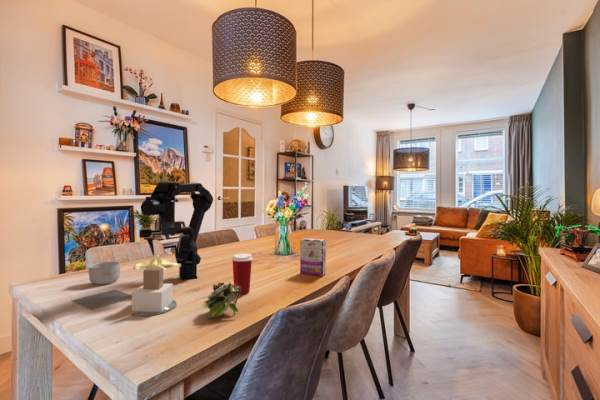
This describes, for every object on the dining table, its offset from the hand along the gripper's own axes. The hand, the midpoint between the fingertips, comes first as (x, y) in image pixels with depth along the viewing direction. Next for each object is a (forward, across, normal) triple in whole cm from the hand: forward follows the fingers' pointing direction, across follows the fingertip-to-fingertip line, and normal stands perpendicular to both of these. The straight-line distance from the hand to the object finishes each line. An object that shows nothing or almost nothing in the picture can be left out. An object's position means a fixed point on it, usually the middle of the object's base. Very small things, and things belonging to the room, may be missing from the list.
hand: (166, 254), depth 117 cm
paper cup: (+13, +24, -19) cm, 33 cm away
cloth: (+14, 0, +36) cm, 38 cm away
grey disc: (+13, -6, -20) cm, 25 cm away
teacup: (+13, -20, +17) cm, 29 cm away
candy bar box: (+13, +62, -9) cm, 64 cm away
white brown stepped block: (+13, -6, -20) cm, 24 cm away
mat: (+13, -20, -6) cm, 25 cm away
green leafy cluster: (+13, +13, -35) cm, 40 cm away
